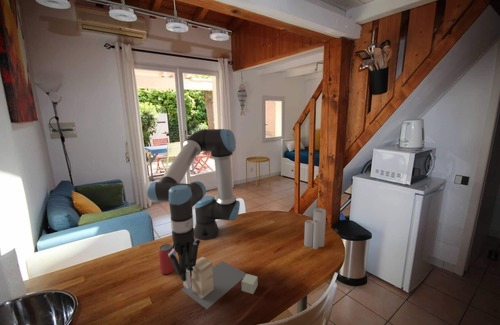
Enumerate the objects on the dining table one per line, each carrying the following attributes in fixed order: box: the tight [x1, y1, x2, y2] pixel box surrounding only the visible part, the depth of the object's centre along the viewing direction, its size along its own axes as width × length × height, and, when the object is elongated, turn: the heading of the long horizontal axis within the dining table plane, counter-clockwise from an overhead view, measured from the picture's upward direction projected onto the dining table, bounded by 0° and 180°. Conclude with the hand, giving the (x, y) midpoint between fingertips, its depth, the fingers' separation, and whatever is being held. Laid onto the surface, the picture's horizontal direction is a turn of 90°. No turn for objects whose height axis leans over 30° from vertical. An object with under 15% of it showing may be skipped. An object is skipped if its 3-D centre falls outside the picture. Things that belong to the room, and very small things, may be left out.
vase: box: [303, 207, 327, 250], centre depth 124 cm, size 11×7×20 cm, turn 112°
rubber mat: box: [181, 260, 247, 310], centre depth 98 cm, size 16×24×1 cm, turn 142°
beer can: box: [158, 243, 175, 275], centre depth 106 cm, size 7×7×12 cm
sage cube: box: [241, 273, 259, 295], centre depth 94 cm, size 5×5×5 cm
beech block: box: [190, 256, 214, 299], centre depth 91 cm, size 6×6×13 cm
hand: (187, 286), depth 86 cm, fingers closed
